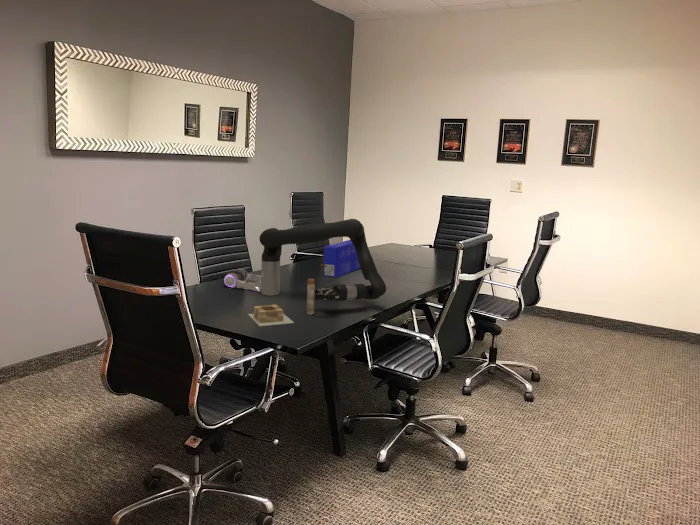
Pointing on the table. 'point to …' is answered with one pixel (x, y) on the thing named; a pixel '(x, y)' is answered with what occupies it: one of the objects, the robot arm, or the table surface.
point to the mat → (285, 321)
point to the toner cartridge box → (340, 259)
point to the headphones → (243, 280)
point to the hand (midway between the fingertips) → (311, 294)
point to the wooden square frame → (268, 313)
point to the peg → (310, 296)
